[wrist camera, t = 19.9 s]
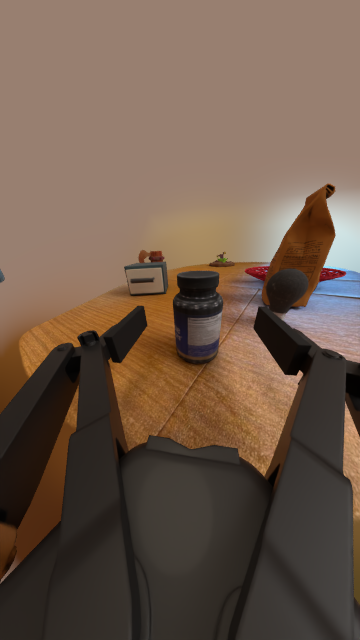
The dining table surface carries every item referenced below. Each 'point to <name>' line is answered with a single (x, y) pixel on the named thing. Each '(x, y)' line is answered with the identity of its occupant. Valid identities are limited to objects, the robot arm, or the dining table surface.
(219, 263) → the plant
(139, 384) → the dining table surface
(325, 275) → the bowl
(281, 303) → the light bulb
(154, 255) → the mug
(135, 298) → the dining table surface
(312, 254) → the coffee package
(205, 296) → the pill bottle
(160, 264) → the cabinet
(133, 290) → the drawer
